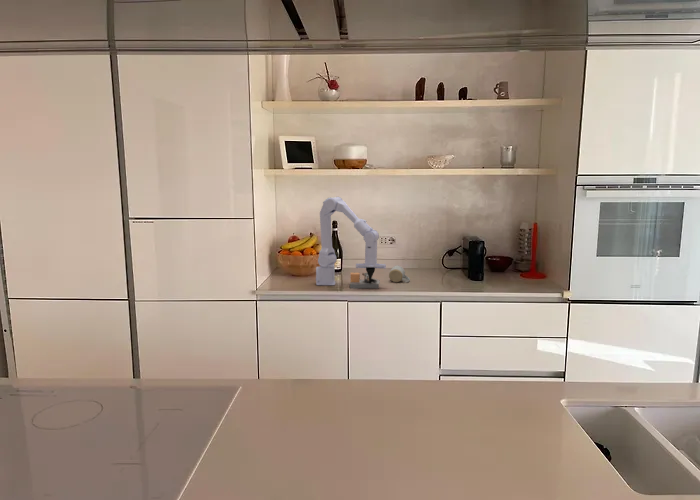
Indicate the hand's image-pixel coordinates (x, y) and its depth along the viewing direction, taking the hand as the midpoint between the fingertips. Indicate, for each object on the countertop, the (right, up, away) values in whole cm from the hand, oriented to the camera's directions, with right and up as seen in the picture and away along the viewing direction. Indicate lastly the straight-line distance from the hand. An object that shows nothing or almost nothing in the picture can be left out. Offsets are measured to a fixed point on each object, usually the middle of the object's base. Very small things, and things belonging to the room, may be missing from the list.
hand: (370, 282), depth 250 cm
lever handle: (+1, 0, +2) cm, 2 cm away
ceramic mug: (+16, -1, +16) cm, 23 cm away
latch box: (-3, -2, +5) cm, 6 cm away
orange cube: (-7, 0, +6) cm, 9 cm away
